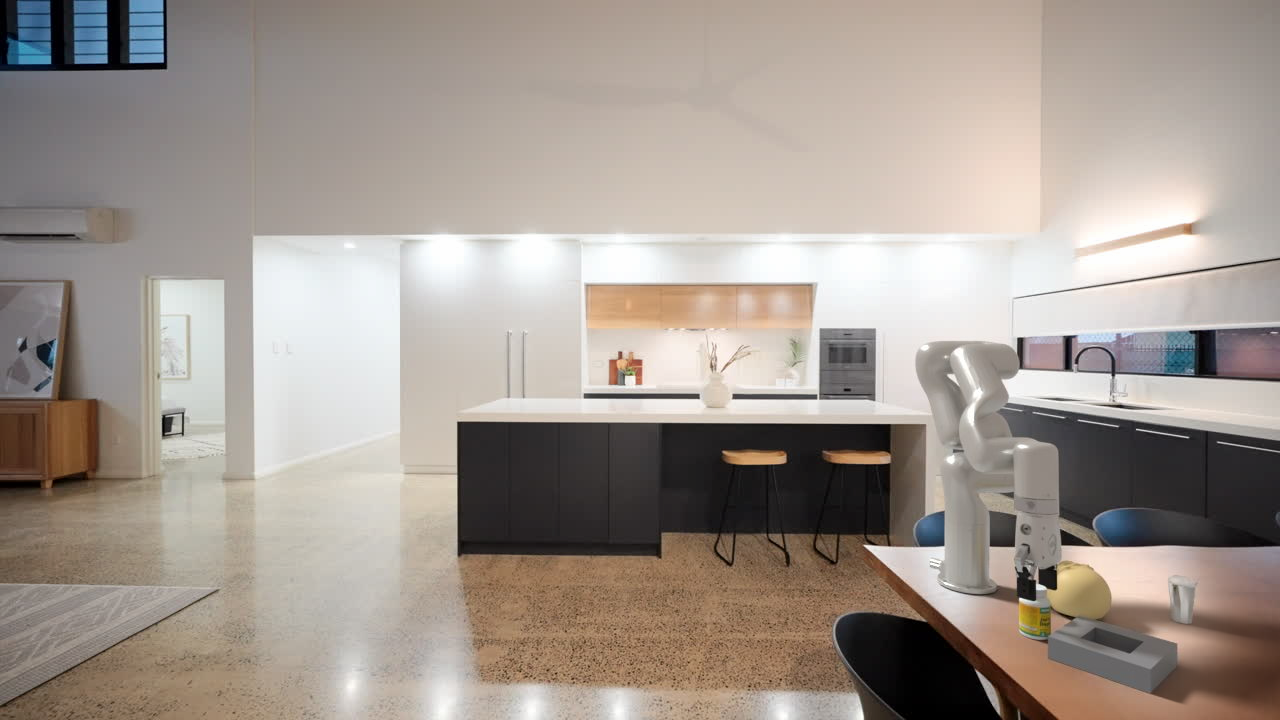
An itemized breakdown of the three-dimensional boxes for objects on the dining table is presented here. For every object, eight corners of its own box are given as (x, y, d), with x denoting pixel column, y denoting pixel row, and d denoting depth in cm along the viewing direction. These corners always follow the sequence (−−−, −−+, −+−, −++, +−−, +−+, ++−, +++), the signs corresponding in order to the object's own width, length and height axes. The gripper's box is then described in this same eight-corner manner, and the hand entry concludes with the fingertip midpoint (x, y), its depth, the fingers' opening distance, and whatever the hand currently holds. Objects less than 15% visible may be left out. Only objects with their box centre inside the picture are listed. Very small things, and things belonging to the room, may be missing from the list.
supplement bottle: (1027, 626, 129) (1027, 579, 129) (1056, 636, 124) (1056, 587, 124) (1013, 633, 126) (1013, 584, 126) (1042, 643, 121) (1043, 593, 121)
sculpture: (1075, 600, 142) (1075, 552, 142) (1125, 623, 130) (1125, 571, 130) (1030, 604, 140) (1030, 555, 140) (1076, 627, 128) (1076, 574, 128)
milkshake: (1194, 628, 127) (1195, 579, 127) (1163, 618, 132) (1163, 571, 132) (1205, 624, 130) (1206, 575, 129) (1173, 614, 134) (1174, 567, 134)
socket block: (1047, 658, 116) (1048, 636, 115) (1079, 635, 125) (1079, 615, 124) (1150, 693, 104) (1150, 669, 103) (1177, 666, 113) (1177, 643, 112)
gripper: (1038, 515, 116) (1040, 609, 116) (1075, 503, 127) (1076, 589, 126) (995, 508, 122) (996, 597, 122) (1034, 497, 133) (1035, 579, 132)
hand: (1037, 593), depth 124 cm, fingers open, 9 cm apart
